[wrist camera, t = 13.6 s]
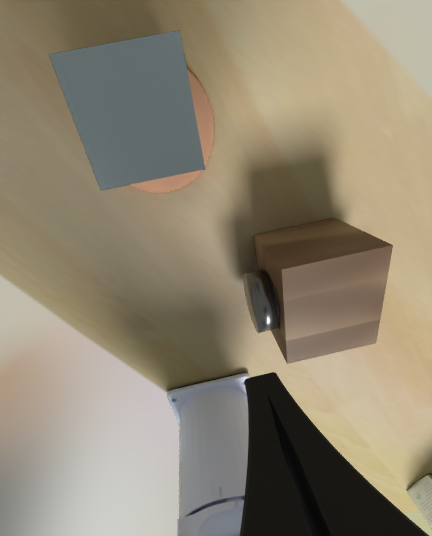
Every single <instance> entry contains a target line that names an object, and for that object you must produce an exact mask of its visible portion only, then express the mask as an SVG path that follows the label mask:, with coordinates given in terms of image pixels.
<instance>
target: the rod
mask: <svg viewBox="0 0 432 536" xmlns="http://www.w3.org/2000/svg"><path fill="white" fill-rule="evenodd" d="M243 282H244V290H245V295H246V300H247V304H248V308H249V312H250V315H251V319H252V322H253V324H254V327H255V329H256V331H257V332H258V333H260V332H265V331H269V330H274V329H277V328H278V326H279V308H278V294H277V290H276V289H275V287H274V286H273V284H272V283H271V281H270V280H269V278H268V276H267V274H266V273H265V271H264V270H258V271H253V272H249V273H244V275H243Z"/></svg>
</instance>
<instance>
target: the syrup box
mask: <svg viewBox="0 0 432 536" xmlns="http://www.w3.org/2000/svg"><path fill="white" fill-rule="evenodd" d="M407 493H408V495H409V496H410V498H411V499H412V501H413V502H414V504H415V505H416V506H417V508H418V510H419V511H420V513H421V514H422V515H423V517H424V519H425V520H426V521H427V523H428V525H429V526H430V528H431V529H432V475H426V476H425V477H423V478H422V479H420V480H419V481H418V482H417V483H415V484H414V485H413V486H412V487H411V488H410V489H409V490H407Z"/></svg>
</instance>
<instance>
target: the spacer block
mask: <svg viewBox="0 0 432 536" xmlns="http://www.w3.org/2000/svg"><path fill="white" fill-rule="evenodd" d="M49 57H50V60H51V62H52V65H53V68H54V70H55V73H56V75H57V78H58V81H59V83H60V86H61V88H62V91H63V94H64V96H65V99H66V101H67V104H68V107H69V109H70V112H71V115H72V117H73V120H74V122H75V125H76V128H77V130H78V133H79V135H80V138H81V141H82V143H83V146H84V148H85V151H86V154H87V156H88V159H89V161H90V164H91V167H92V169H93V172H94V174H95V177H96V180H97V182H98V185H99V187H100V190H106V189H111V188H116V187H121V186H126V185H131V184H135V183H140V182H145V181H150V180H155V179H160V178H165V177H170V176H175V175H180V174H184V173H189V172H194V171H199V170H204V169H205V164H204V159H203V153H202V148H201V142H200V137H199V131H198V126H197V121H196V115H195V110H194V104H193V99H192V93H191V88H190V83H189V77H188V72H187V66H186V61H185V55H184V50H183V45H182V39H181V34H180V30H179V31H173V32H168V33H162V34H157V35H152V36H146V37H141V38H135V39H130V40H125V41H119V42H114V43H108V44H103V45H98V46H92V47H87V48H81V49H76V50H71V51H65V52H60V53H54V54H49Z"/></svg>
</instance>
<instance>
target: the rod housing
mask: <svg viewBox="0 0 432 536" xmlns="http://www.w3.org/2000/svg"><path fill="white" fill-rule="evenodd" d="M254 242H255V251H256V260H257V269H258V270H264V271H265V273H266V274H267V276H268V278H269V280H270V281H271V283H272V284H273V286H274V287H275V289H276V290H277V294H278V308H279V326H278V328H277V329H274V330H271V331H272V333H273V335H274V337H275V340H276V342H277V344H278V346H279V348H280V350H281V352H282V354H283V356H284V358H285V360H286V362H287V364H288V363H293V362H297V361H301V360H306V359H310V358H314V357H319V356H323V355H327V354H331V353H336V352H340V351H344V350H349V349H353V348H357V347H362V346H366V345H370V344H374V343H376V341H377V335H378V329H379V323H380V317H381V312H382V306H383V300H384V294H385V288H386V282H387V277H388V271H389V265H390V259H391V253H392V247H393V245H391V244H389V243H387V242H385V241H383V240H381V239H379V238H376V237H374V236H372V235H370V234H368V233H366V232H364V231H362V230H359V229H357V228H355V227H353V226H351V225H349V224H347V223H344V222H342V221H340V220H338V219H336V218H331V219H327V220H322V221H317V222H313V223H308V224H303V225H299V226H294V227H289V228H285V229H280V230H275V231H271V232H266V233H261V234H257V235H254Z"/></svg>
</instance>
